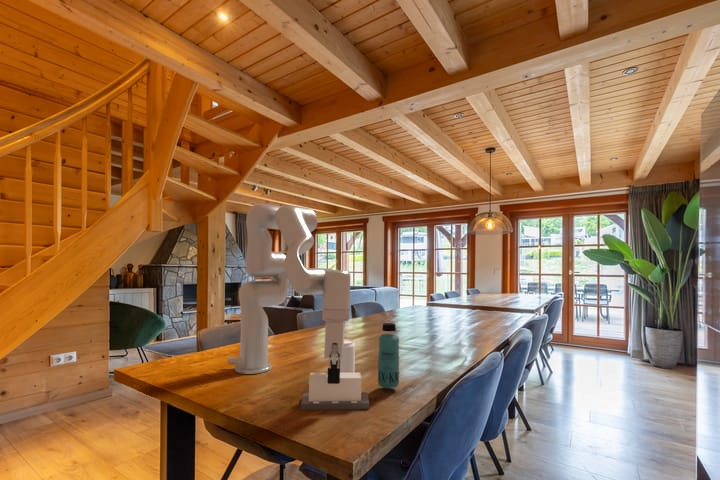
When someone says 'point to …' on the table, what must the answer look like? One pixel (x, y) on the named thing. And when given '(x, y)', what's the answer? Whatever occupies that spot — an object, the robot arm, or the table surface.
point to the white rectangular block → (335, 387)
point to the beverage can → (348, 357)
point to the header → (335, 403)
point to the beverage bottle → (388, 358)
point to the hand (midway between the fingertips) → (333, 376)
